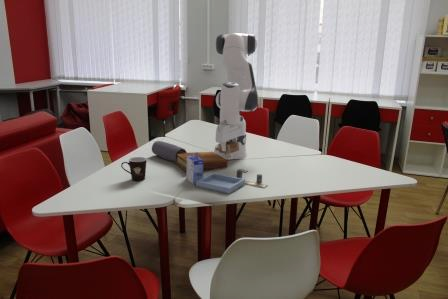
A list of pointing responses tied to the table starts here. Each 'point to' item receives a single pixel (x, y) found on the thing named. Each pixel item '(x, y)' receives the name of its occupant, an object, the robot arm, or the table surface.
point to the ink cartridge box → (194, 168)
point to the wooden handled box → (259, 180)
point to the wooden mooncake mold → (228, 147)
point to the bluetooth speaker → (167, 150)
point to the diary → (209, 160)
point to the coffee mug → (137, 168)
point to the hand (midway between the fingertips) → (228, 148)
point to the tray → (220, 183)
